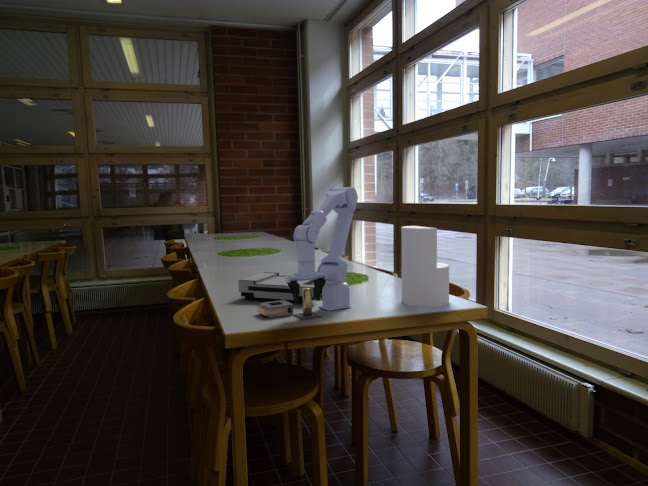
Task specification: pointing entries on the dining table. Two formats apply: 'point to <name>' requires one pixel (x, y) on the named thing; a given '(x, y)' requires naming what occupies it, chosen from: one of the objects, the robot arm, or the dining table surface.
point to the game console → (271, 288)
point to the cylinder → (423, 269)
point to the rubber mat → (307, 316)
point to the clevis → (276, 308)
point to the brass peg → (307, 302)
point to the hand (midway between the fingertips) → (307, 301)
